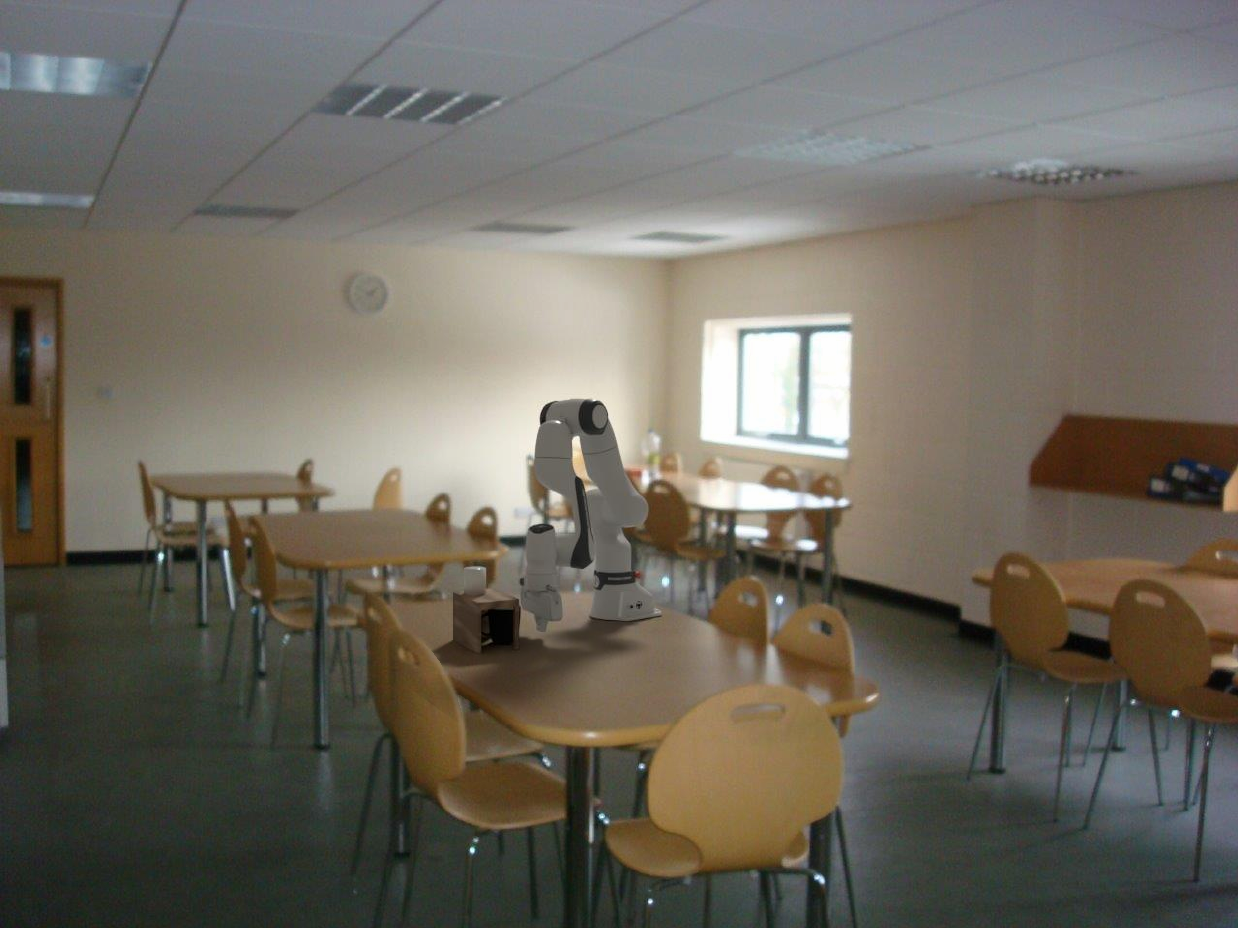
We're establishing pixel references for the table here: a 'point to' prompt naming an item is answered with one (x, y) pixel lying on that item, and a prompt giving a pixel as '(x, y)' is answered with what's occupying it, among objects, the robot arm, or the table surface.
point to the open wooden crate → (470, 613)
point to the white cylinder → (474, 580)
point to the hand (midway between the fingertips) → (541, 631)
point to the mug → (501, 625)
